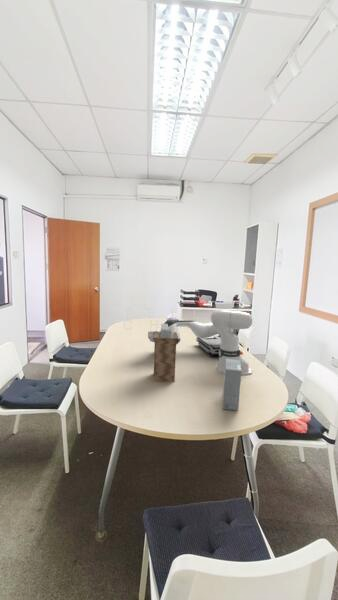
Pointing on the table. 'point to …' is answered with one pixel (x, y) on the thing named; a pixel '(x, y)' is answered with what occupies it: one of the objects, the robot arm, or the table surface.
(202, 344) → the game console
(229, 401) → the hard drive box
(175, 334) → the walnut stand
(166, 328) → the link bar
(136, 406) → the table surface
